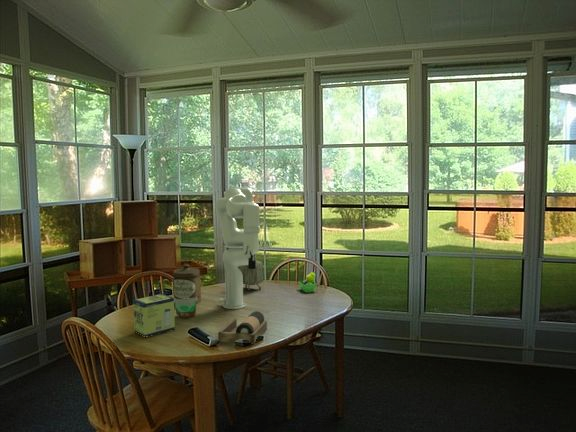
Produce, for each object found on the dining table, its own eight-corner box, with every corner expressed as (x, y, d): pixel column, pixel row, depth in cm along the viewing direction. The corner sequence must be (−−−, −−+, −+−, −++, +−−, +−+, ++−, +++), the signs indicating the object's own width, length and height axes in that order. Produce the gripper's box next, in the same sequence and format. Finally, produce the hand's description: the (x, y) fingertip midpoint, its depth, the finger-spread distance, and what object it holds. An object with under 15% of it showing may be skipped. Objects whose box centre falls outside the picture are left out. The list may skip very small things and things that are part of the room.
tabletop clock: (264, 289, 298) (263, 249, 296) (255, 292, 291) (254, 251, 288) (245, 286, 306) (244, 247, 304) (236, 289, 298) (235, 249, 296)
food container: (174, 320, 237) (173, 300, 236) (173, 316, 243) (173, 297, 242) (199, 318, 240) (198, 298, 239) (198, 314, 246) (197, 295, 245)
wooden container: (169, 305, 265) (168, 265, 263) (181, 298, 279) (180, 261, 277) (194, 306, 261) (193, 266, 259) (205, 299, 276) (204, 261, 274)
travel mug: (261, 308, 223) (248, 321, 203) (267, 323, 223) (255, 338, 203) (247, 313, 225) (232, 326, 205) (252, 328, 225) (239, 343, 205)
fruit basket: (298, 289, 298) (298, 271, 297) (311, 287, 301) (311, 270, 300) (304, 293, 287) (304, 274, 286) (318, 292, 290) (318, 273, 289)
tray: (218, 341, 206) (218, 332, 205) (234, 327, 225) (234, 318, 225) (254, 344, 202) (253, 335, 202) (266, 329, 221) (266, 320, 221)
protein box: (133, 333, 219) (132, 299, 217) (164, 325, 229) (162, 293, 228) (144, 338, 211) (143, 304, 210) (175, 330, 222) (174, 297, 221)
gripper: (248, 228, 232) (249, 265, 234) (238, 232, 218) (239, 271, 219) (263, 228, 230) (264, 265, 232) (254, 232, 216) (254, 272, 218)
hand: (252, 268), depth 226 cm, fingers closed
